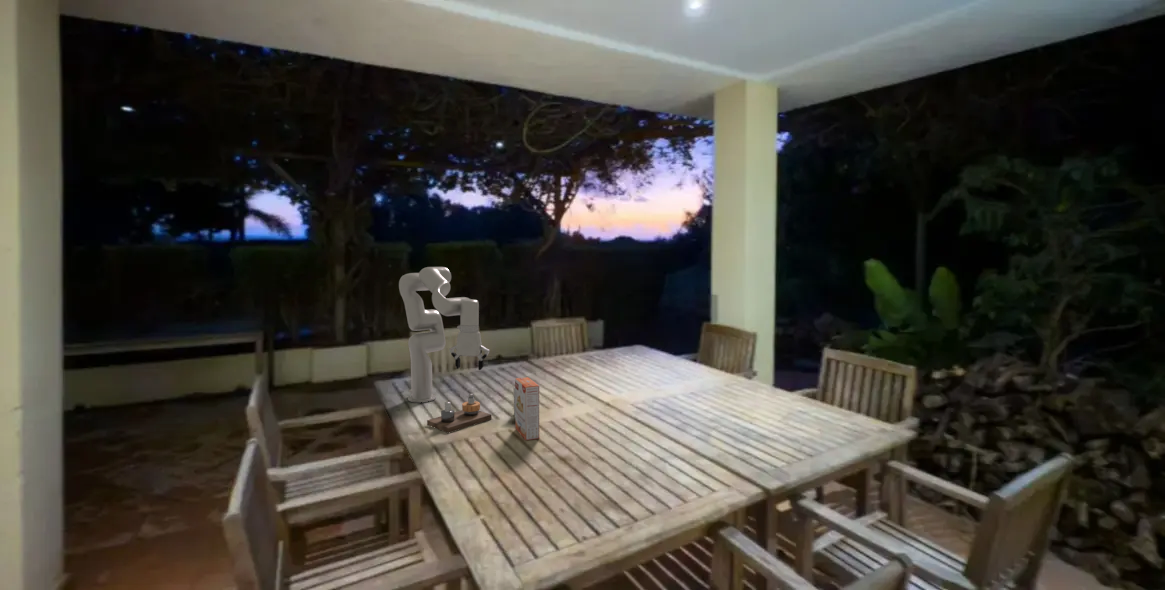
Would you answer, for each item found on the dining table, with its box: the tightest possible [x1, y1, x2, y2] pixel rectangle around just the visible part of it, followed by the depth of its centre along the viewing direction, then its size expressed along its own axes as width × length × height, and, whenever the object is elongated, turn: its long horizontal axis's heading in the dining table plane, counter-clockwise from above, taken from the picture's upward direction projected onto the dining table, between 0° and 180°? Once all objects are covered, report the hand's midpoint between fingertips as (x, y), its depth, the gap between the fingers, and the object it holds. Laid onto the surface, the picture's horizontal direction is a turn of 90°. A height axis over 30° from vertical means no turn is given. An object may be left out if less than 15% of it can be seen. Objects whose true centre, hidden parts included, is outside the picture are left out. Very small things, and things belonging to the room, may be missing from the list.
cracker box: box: [514, 377, 540, 441], centre depth 204 cm, size 14×6×21 cm, turn 23°
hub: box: [464, 393, 480, 416], centre depth 223 cm, size 6×6×8 cm
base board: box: [426, 409, 492, 434], centre depth 218 cm, size 14×22×2 cm, turn 141°
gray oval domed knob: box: [440, 401, 455, 423], centre depth 213 cm, size 5×5×8 cm
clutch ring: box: [461, 400, 481, 412], centre depth 223 cm, size 7×7×2 cm
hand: (469, 368), depth 224 cm, fingers open, 9 cm apart
